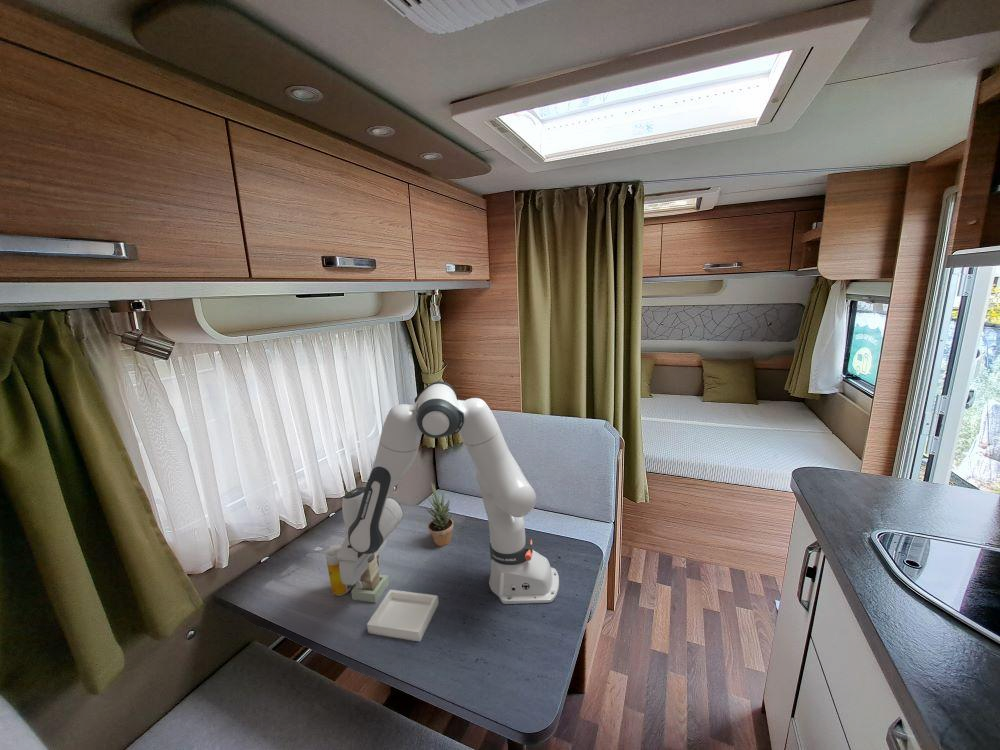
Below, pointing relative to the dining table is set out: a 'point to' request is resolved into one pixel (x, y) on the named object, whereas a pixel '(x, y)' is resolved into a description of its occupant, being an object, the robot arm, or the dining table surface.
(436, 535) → the potted plant
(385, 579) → the socket block
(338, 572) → the orange pill bottle
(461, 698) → the dining table surface
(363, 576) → the wooden pepper mill
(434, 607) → the tray
